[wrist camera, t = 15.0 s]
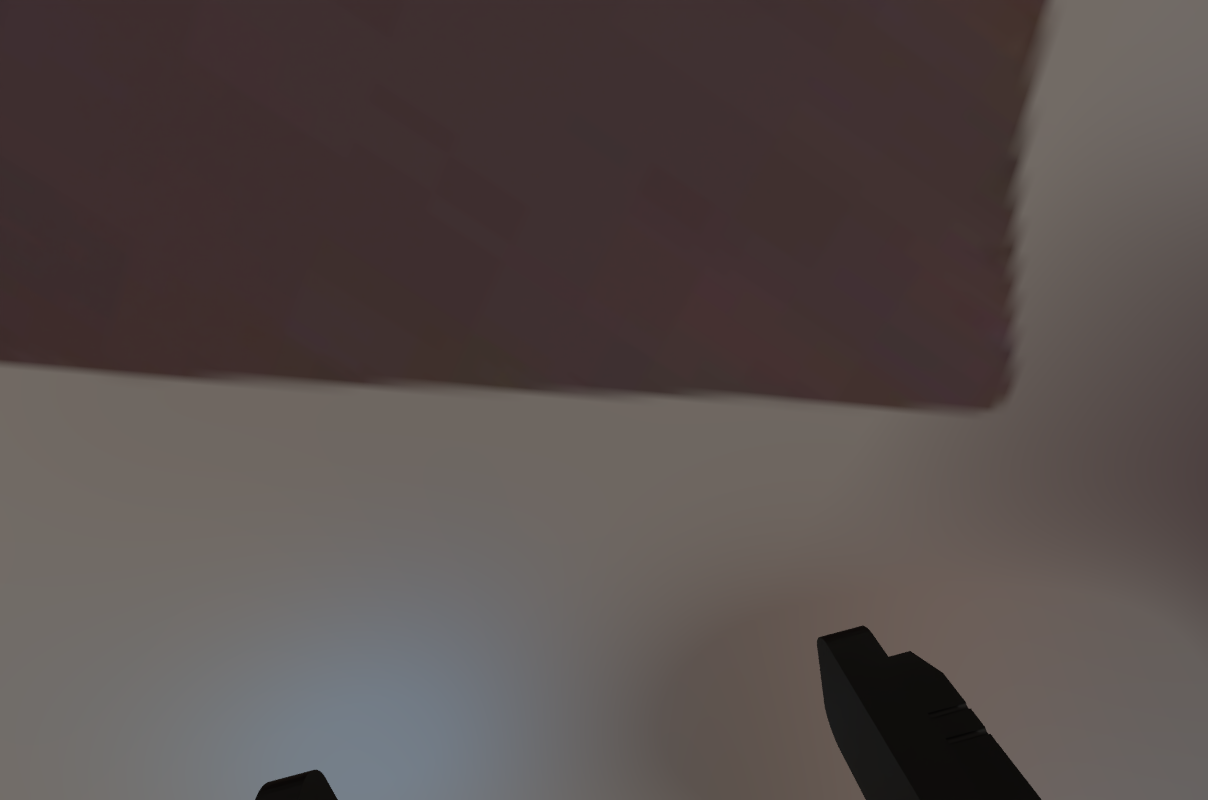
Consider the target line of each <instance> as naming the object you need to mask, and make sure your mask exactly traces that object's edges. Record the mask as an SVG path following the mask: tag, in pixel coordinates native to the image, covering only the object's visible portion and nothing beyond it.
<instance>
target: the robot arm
mask: <svg viewBox="0 0 1208 800" xmlns="http://www.w3.org/2000/svg"><path fill="white" fill-rule="evenodd" d="M817 648H818V656H819V664H820V671H821V680H822V688H823V696H824V704H825V710H826V714H827V718H828V721H829V724H830V727H831V730H832V733H833V735H834V737H835V740H836V742H837V745H838V747H839V748H840V751H841V753H842V755H843V756H844V758H845V760H846V762H847V764H848V766H849V768H850V770H851V772H852V774H853V776H854V778H855V779H856V781H857V783H858V785H859V787H860V789H861V791H862V793H863V795H864V797H865V799H866V800H1041V798H1040V797H1039V796H1038V795H1037V793H1036V792H1035V791H1034V790H1033V788H1032V787H1031V786H1030V784H1029V783H1028V782H1027V780H1026V779H1025V778H1024V777H1023V775H1022V774H1021V773H1020V772H1019V770H1018V769H1017V768H1016V766H1015V765H1014V764H1013V763H1012V761H1011V760H1010V759H1009V758H1008V756H1007V755H1006V753H1005V752H1004V751H1003V750H1002V748H1001V747H1000V746H999V744H998V743H997V742H996V741H995V739H994V738H993V737H992V735H991V734H988V733H987V732H986V729H985V726H983V724H982V723H981V721H980V720H979V719H978V717H977V716H976V715H975V714H974V712H973V711H972V710H971V709H968V707H967V705H966V702H965V701H964V699H963V698H962V697H961V696H960V694H959V693H958V692H957V690H956V689H955V688H954V687H953V685H952V684H951V683H950V682H949V680H948V679H947V678H946V676H945V675H944V674H943V673H942V672H941V671H939V670H938V669H936V668H935V667H933V666H932V665H930V664H928V663H927V662H926V661H924V660H923V659H921V658H920V657H918V656H917V655H915V654H914V653H912V652H911V651H909V652H905V653H901V654H898V655H894V656H890V657H888V656H887V654H886V653H885V651H884V650H883V648H882V647H881V646H880V644H879V643H878V641H877V640H876V638H875V637H874V636H873V634H872V633H871V632H870V630H869V629H868V628H866V627H865V626H860V627H856V628H852V629H848V630H845V631H841V632H837V633H834V634H830V635H826V636H822V637H819V638H818V640H817ZM255 800H338V799H337V798H336V796H335V794H334V792H333V791H332V789H331V787H330V785H329V783H328V782H327V780H326V778H325V777H324V775H323V774H322V773H321V772H320V771H318V770H312V771H308V772H304V773H301V774H297V775H293V776H289V777H286V778H282V779H278V780H275V781H271V782H267V783H266V784H265V785H263V786H262V788H261V789H260V791H259V793H258V795H257V797H256V799H255Z"/></svg>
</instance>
